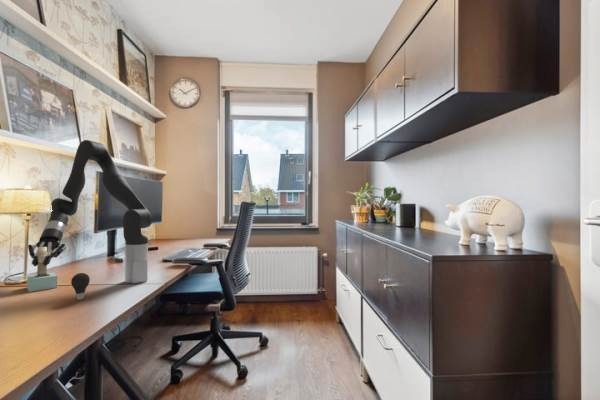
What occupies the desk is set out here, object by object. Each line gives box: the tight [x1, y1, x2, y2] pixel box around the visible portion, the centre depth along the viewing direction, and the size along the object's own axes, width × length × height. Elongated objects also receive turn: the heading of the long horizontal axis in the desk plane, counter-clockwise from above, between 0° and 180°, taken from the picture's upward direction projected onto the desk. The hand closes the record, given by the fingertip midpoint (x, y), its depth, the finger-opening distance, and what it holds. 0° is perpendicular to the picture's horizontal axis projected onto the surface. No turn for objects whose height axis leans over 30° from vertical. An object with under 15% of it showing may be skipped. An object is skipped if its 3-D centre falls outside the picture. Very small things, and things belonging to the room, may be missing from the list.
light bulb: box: [70, 272, 90, 301], centre depth 113 cm, size 6×6×10 cm
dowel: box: [36, 247, 48, 276], centre depth 129 cm, size 3×3×12 cm
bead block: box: [26, 272, 58, 293], centre depth 128 cm, size 9×9×5 cm
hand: (39, 264), depth 127 cm, fingers closed on dowel, 3 cm apart
